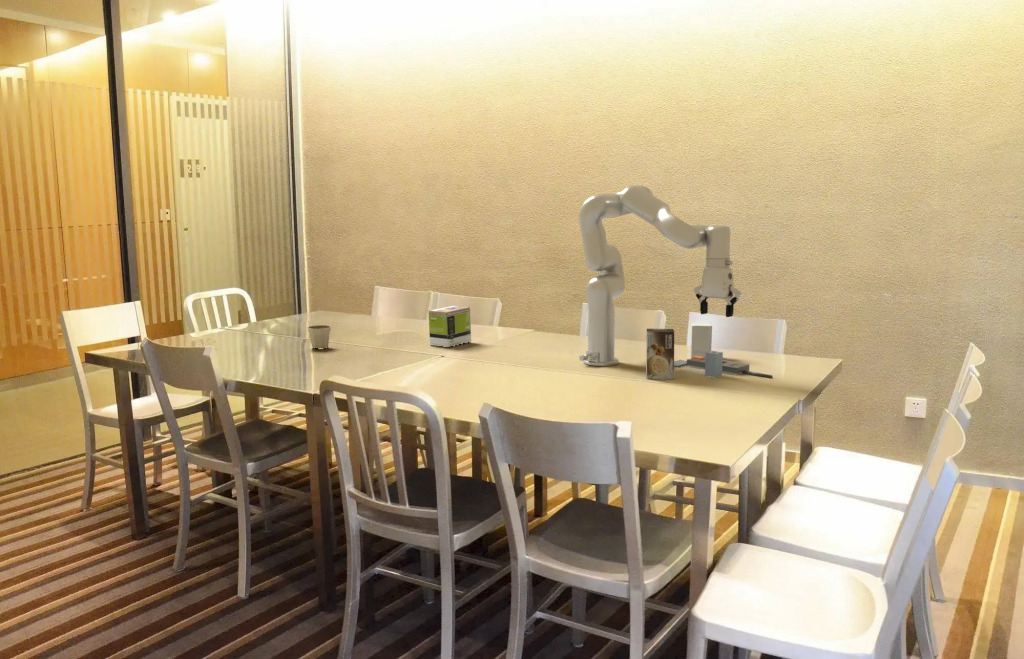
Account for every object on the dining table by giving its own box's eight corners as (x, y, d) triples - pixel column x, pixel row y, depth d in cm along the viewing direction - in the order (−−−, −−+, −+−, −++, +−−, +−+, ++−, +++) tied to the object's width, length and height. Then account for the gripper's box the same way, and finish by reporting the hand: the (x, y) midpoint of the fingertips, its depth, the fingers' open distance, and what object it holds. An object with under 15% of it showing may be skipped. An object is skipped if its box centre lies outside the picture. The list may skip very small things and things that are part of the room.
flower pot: (337, 347, 337) (336, 326, 335) (320, 351, 329) (319, 329, 327) (320, 345, 342) (319, 324, 340) (303, 349, 334) (302, 327, 332)
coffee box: (673, 375, 283) (674, 328, 281) (674, 380, 277) (675, 331, 274) (645, 375, 285) (646, 328, 282) (645, 379, 278) (646, 331, 276)
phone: (677, 369, 296) (677, 366, 296) (663, 366, 300) (663, 363, 300) (693, 365, 303) (694, 362, 303) (680, 362, 307) (680, 359, 307)
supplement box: (711, 360, 308) (712, 326, 306) (690, 359, 309) (691, 325, 307) (710, 356, 315) (711, 322, 313) (690, 355, 317) (691, 322, 314)
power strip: (765, 380, 276) (766, 371, 275) (686, 366, 298) (686, 357, 297) (778, 376, 281) (778, 367, 281) (699, 362, 303) (699, 354, 303)
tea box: (452, 340, 351) (452, 305, 349) (471, 342, 345) (471, 306, 343) (428, 345, 339) (427, 309, 337) (448, 348, 333) (447, 311, 331)
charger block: (715, 377, 280) (716, 353, 279) (705, 375, 283) (705, 351, 282) (722, 375, 283) (722, 351, 282) (711, 373, 286) (712, 350, 284)
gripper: (747, 264, 273) (745, 316, 276) (701, 261, 286) (700, 311, 288) (734, 265, 268) (733, 319, 271) (688, 263, 280) (687, 314, 283)
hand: (716, 315), depth 279 cm, fingers open, 9 cm apart
